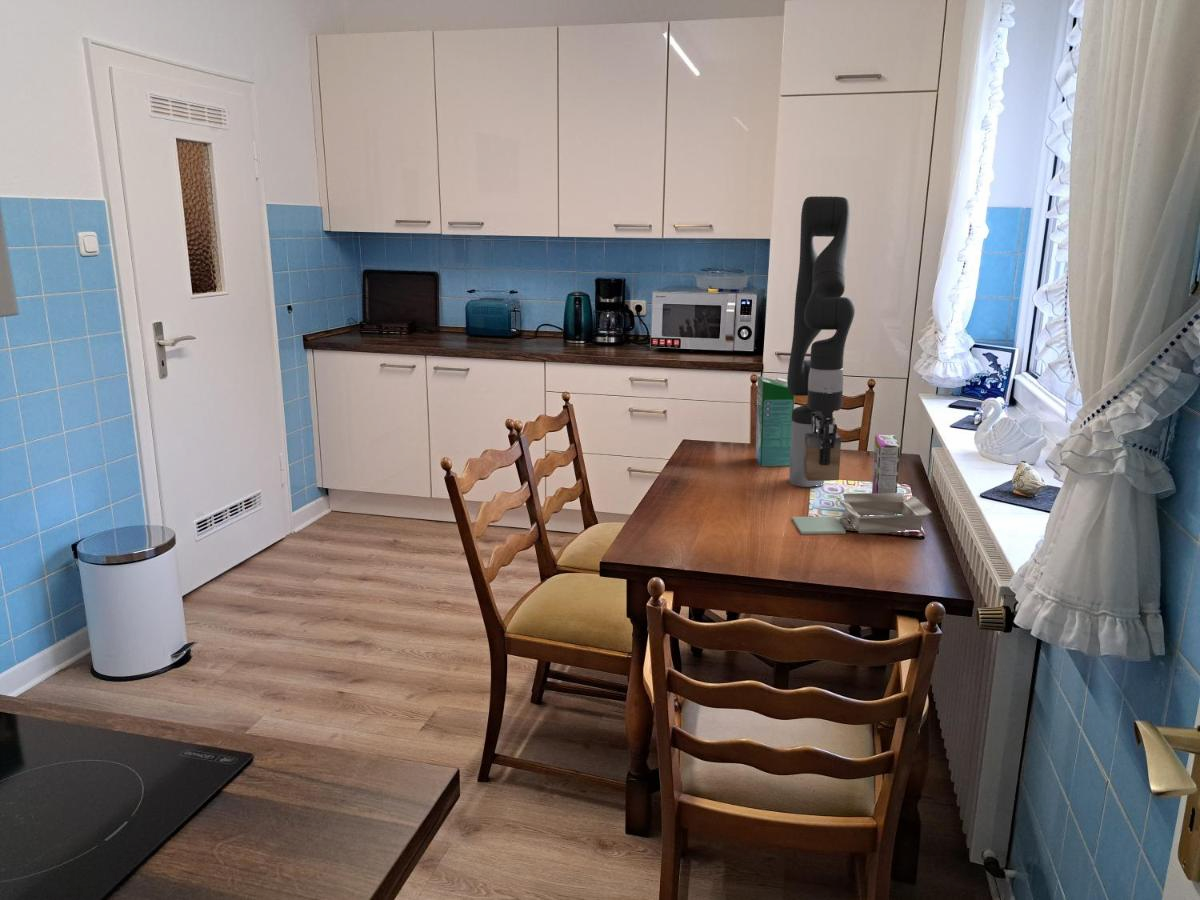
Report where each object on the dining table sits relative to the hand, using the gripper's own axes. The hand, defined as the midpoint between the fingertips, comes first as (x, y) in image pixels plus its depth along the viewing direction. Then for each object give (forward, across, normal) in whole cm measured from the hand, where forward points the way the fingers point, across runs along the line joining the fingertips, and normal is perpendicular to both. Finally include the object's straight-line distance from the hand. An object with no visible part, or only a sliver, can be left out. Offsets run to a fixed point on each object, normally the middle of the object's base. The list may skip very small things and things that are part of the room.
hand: (821, 461), depth 194 cm
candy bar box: (+16, -16, +20) cm, 30 cm away
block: (+4, 0, 0) cm, 4 cm away
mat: (+16, 0, 0) cm, 16 cm away
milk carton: (+16, -55, 0) cm, 57 cm away
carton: (+16, -1, +15) cm, 22 cm away
